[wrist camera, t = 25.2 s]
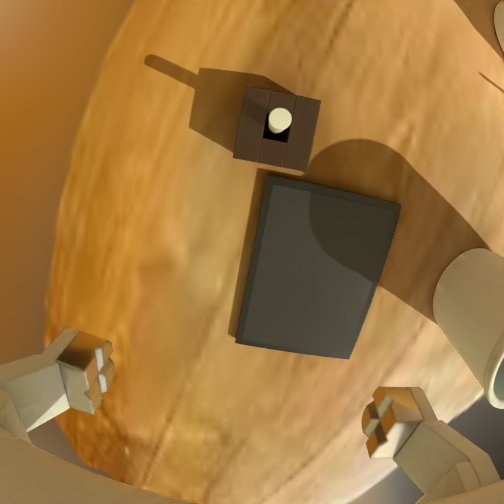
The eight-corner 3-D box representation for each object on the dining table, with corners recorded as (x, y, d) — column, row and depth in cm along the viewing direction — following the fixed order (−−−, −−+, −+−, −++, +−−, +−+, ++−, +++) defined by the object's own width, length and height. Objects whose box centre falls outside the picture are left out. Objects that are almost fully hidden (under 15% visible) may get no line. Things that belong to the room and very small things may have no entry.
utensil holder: (437, 242, 37) (518, 305, 20) (513, 241, 36) (591, 290, 19) (419, 338, 42) (469, 422, 25) (491, 327, 41) (548, 391, 24)
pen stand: (313, 105, 32) (321, 100, 28) (301, 168, 35) (307, 172, 30) (249, 93, 32) (246, 85, 28) (237, 155, 35) (232, 158, 30)
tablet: (398, 203, 35) (402, 205, 34) (347, 355, 43) (349, 359, 42) (267, 173, 35) (267, 174, 34) (235, 339, 43) (234, 343, 42)
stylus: (284, 121, 33) (293, 110, 21) (281, 135, 34) (289, 131, 21) (269, 118, 33) (271, 105, 21) (267, 132, 34) (266, 127, 21)
